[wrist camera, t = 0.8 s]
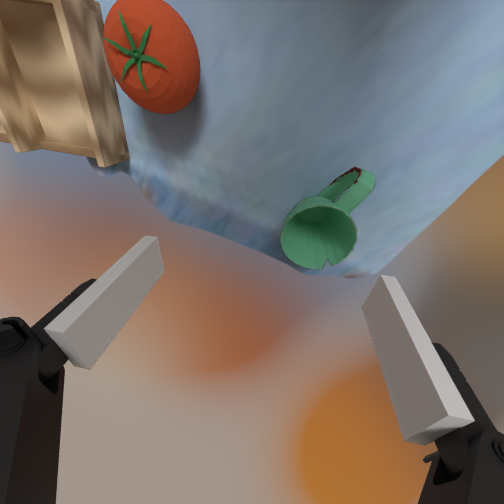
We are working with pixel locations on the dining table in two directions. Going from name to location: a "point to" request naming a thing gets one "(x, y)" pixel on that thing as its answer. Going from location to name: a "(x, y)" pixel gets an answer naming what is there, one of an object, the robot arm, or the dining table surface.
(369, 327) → the robot arm
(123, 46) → the tomato
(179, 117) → the dining table surface
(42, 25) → the rack
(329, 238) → the mug
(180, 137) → the dining table surface
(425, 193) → the dining table surface
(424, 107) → the dining table surface
